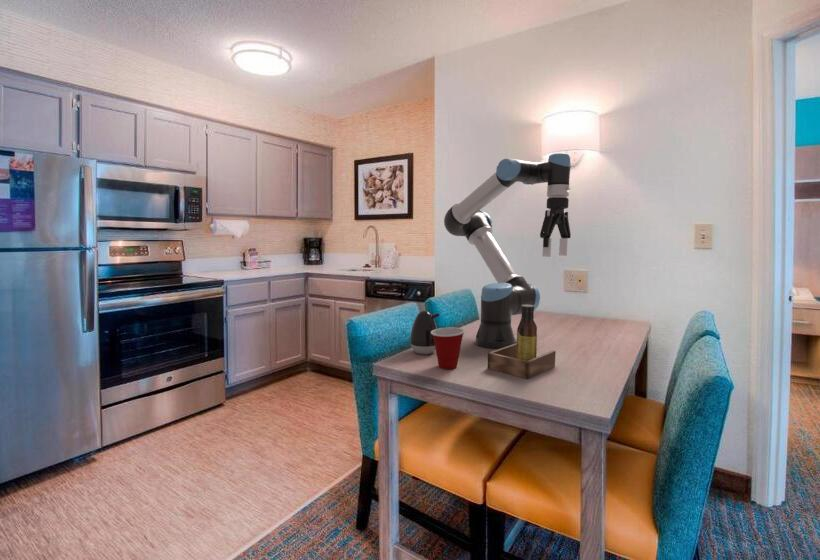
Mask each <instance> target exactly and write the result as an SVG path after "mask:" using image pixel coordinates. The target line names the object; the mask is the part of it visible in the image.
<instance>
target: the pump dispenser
mask: <svg viewBox="0 0 820 560" xmlns="http://www.w3.org/2000/svg"><path fill="white" fill-rule="evenodd" d="M437 317H440V313H434V314H432V313H431V312H430V311H427V310H422V311H419V312H418V313H417V314H416V316H415V318H414V320H413V323H412V325H411V330H410V338H409V344H410V346H411V348H412V350H413V351H414V353H417V354H418V355H431V354H432V353H434V352H436V348H435V342H434V338H433V336H432V334H431V331H432V330H435V329H438V327H437V324H436V322H435V318H437Z"/></svg>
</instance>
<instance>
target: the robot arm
mask: <svg viewBox="0 0 820 560" xmlns="http://www.w3.org/2000/svg"><path fill="white" fill-rule="evenodd" d="M571 167H572V166H571V155H570V154H569V153H567V152H557V153H556V152H555V153H552V154H550V155H548V159H547V161H542V162H532V161H526V160H520V159H516V158H503V159H501V160H500V161H499V162H498V165H497V166H496V168H495V169H496V171H495V172H494V173H493V174H492V175H491V176H489V178H487V179H486V180H484V182H482V183H481V184H480V185H479V186H478V187H477V188H476V189H474V190H473V191H472V192H471V193H470V194H469V195H468V196H466V197H465V198H464V199H463V200H462V201H460V202H459V203H455V204H453V205H452V206H451V207H450V208H449V209H448V210H447V212H446V213H445V215H444V219H443V224H444V227H445V229H446V231H447V232H448V233H449V234H451V236H454V237H465V238H466V240H467V241H468V243H469V244H471V245H473V246H475V248H476V249H477V251H478V253H479V255H480V256H481V258H482V259H483V261H484V263H485V264H486V266H487V267H488V269H489V271H490V272H491V274H492V276H493V278H494V279H495V283H494V282H493V283H488V284H485V285H484V286H482V288H481V294H480V324H479V327H478V329H477V332H476V335H475V341H474V342H475V344H476V346H477V345H478V346H480V347H482V348H489V349H496V350H498V349H501V348H504V347H507V346H510V345H512V344H515V343H516V338H515V333H514V331H513V328H512V316H517V315H522V310H521V306H522V305H527V304H528V305H534V311H536V310H537V308H538V307H539V305H540V300H541V295H540V294H541V293H540V291H539V289H538V288H537V286H536V285H534V284H532V283H528V282H527V280H526V279H525V278H524V276H522V275H520V274H519V275H518V273H517V272H516V270H515V269H514V268H513V266H512V263H510V261H509V259H508V258H507V256H506V255H505V253H504V252H503V250H502V249H501V247H500V246H499V244H498V243H497V241H496V240H495V238H494V236H493V235H492V234H493V225H492V224H493V221H492V217H491V216H490V215H489V214H488V213H487V212H485V211H483V210H482V209H483V208H485V207H486V206H488V204H489V203H491V202H492V201H493V200H494V199H496V198H498V196H500V195H501V194H503V192H505V191H506V190H507V189H508V188H510V187H511V186H512V185H514V184H515V183H517V182H518V183H522V184H524V185H532V186H533V185H536V184H545V183H547V186H546V187H547V188H546V189H547V190H546V197H548V198H546V210H544V211H545V213H544V219H543V221H542V222H543V223H542V226H541V229H540V233H539V237H540V239H542V257H546V258H547V257H549V258H550V257H551V256H552V255H551V254H552V238H551V236H552V234H553V231H554V229H555V227H556V226H557V229H558V232H559V235H560V238H559V247H558V249H559V250H558V255H559V256H560V257H561V256H565V257H566V256H567V255H568V241H569V240H568V239H571V228H570V222H569V212H568V211H565V209H568V208H569V201H570V200H569V198H568V197H569V196H570V190H571V187H570V178H571V177H570V175H571ZM481 210H482V211H481Z"/></svg>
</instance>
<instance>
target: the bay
mask: <svg viewBox="0 0 820 560" xmlns="http://www.w3.org/2000/svg"><path fill="white" fill-rule="evenodd" d="M516 357H517V342H515V344H512V345H510V346H507V347H504V348H501V349H494V350H492V351H490V352H487V368H486V369H488V370H492V371H496V372H500V373H504V374H508V375H511V376H515V377H518V378H523V379H526V380H529V379H531V378H533V377H535V376H537V375H539V374H541V373H543V372H545V371H547V370H551V368H553V367H556V350H550V351H548V352H544V353H543V354H541V355H537V356H536V358H533V359H531V360H529V361H524V360H520V359H516Z"/></svg>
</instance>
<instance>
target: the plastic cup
mask: <svg viewBox="0 0 820 560" xmlns="http://www.w3.org/2000/svg"><path fill="white" fill-rule="evenodd" d="M465 331H466V330H465V329H464V328H461V327H453V326H451V327H439V328H437V329H435V330H432V331H431V334H432V336H433V338H434V342H435V348H436V350H435V353H436V358H437V365H438V367H439V368H440V369H443V370H454V369H456V368H457V366H458V362H459V357H460V353H461V346H462V341H463V337H464V333H465Z"/></svg>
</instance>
